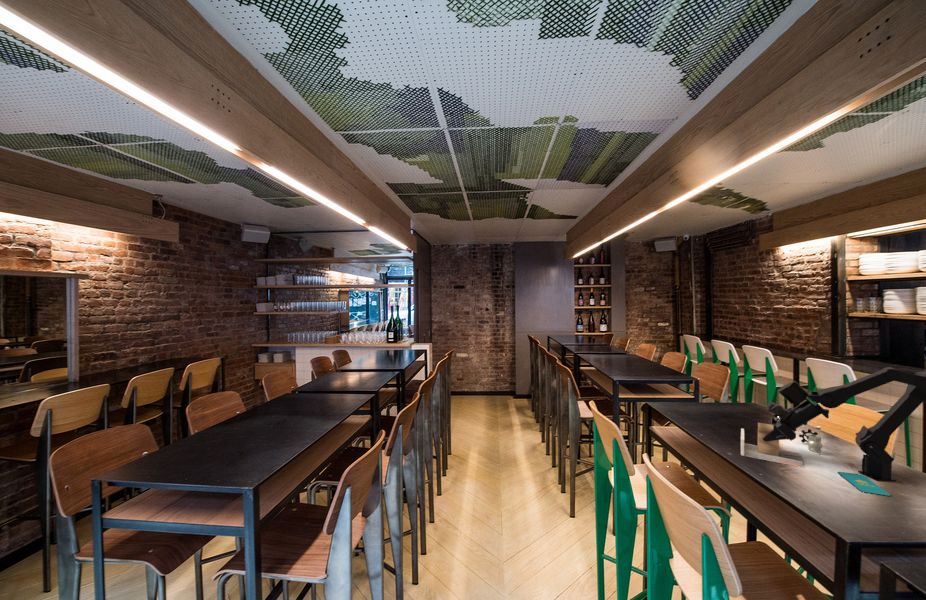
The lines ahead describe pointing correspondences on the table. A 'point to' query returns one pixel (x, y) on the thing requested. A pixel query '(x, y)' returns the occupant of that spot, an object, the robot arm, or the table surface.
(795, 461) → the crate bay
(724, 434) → the table surface
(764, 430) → the tan wooden block
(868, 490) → the smartphone
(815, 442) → the valve
